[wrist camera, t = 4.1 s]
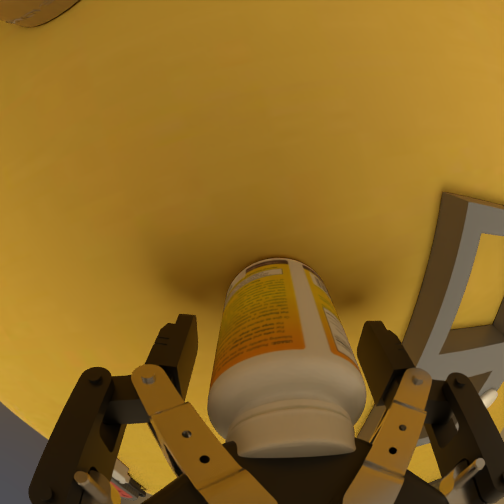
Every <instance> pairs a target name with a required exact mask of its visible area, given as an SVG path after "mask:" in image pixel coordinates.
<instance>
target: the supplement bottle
mask: <svg viewBox="0 0 504 504" xmlns="http://www.w3.org/2000/svg"><path fill="white" fill-rule="evenodd" d="M365 403H366V388H365V384H364V381H363V378H362V375H361V372H360V370H359V367H358V364H357V362H356V359H355V357H354V354H353V352H352V349H351V347H350V344H349V342H348V339H347V337H346V334H345V331H344V329H343V327H342V324H341V321H340V319H339V317H338V315H337V312H336V310H335V307H334V305H333V303H332V301H331V298H330V296H329V294H328V291H327V289H326V287H325V285H324V283H323V281H322V280H321V278H320V277H319V275H318V274H317V273H316V272H315V271H314V270H312V269H311V268H310V267H308V266H307V265H305V264H303V263H301V262H298V261H296V260H292V259H287V258H271V259H265V260H262V261H259V262H256V263H254V264H252V265H250V266H248V267H247V268H245V269H244V270H243V271H241V272H240V273H239V274H238V275H237V276H236V278H235V279H234V280H233V282H232V283H231V285H230V287H229V290H228V292H227V296H226V300H225V305H224V310H223V316H222V322H221V327H220V332H219V338H218V343H217V349H216V355H215V361H214V366H213V372H212V378H211V384H210V390H209V396H208V405H207V409H208V415H209V418H210V421H211V423H212V425H213V427H214V428H215V430H216V431H217V432H218V433H219V434H220V435H221V436H222V437H223V438H224V439H226V443H227V442H229V441H234V442H235V443H236V444H237V453H238V455H239V456H241V457H249V458H292V457H314V456H327V455H338V454H346V453H351V452H354V451H355V450H356V446H355V440H354V438H355V436H354V427H353V426H354V425H355V423H356V422H357V421H358V419H359V418H360V416H361V414H362V412H363V410H364V407H365Z"/></svg>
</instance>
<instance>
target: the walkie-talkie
mask: <svg viewBox="0 0 504 504" xmlns="http://www.w3.org/2000/svg"><path fill="white" fill-rule="evenodd" d="M128 470H129V468H127V467H126V466H125V465H124V464H123V463H122V462H121V461H120V460H118V459H116V463H115V467H114V470H113V474H112V478H111V481H110V483H111V484H112V485H113V486H114V487H115V488H116V489H117V491H118V492H119V494H120V497H121V498H123V499H128V500H133V501H134V500H137V498H138V496H141V497H145V496H146V492H145V491H143V490H142V489H141V486H140V485H139V484H138V483H136V482H135V481H134V480H132V479H131V478H130V476H129V475H127V474H128Z"/></svg>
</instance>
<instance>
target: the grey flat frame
mask: <svg viewBox="0 0 504 504" xmlns="http://www.w3.org/2000/svg"><path fill="white" fill-rule="evenodd" d="M481 233H485V234H492V235H499V236H504V206H503V205H499V204H496V203H492V202H488V201H483V200H479V199H475V198H470V197H466V196H461V195H457V194H452V193H447V192H443V194H442V200H441V206H440V212H439V217H438V222H437V227H436V232H435V237H434V241H433V246H432V250H431V254H430V258H429V262H428V266H427V270H426V273H425V277H424V281H423V284H422V287H421V291H420V294H419V297H418V300H417V303H416V307H415V310H414V312H413V315H412V318H411V321H410V324H409V327H408V329H407V332H406V335H405V337H404V340H403V343H402V345H403V347H404V348H405V350H406V352H407V353H408V355H409V357H410V358H411V360H412V362H413V364H414V365H415V367H416V368H421V369H423V370H425V371H426V372H428V373H429V374H430V376H431V378H432V379H434V380H444V381H446V379H447V377H448V375H449V374H451V373H454V372H458V373H462V374H464V375H466V376H467V377H468V378H469V379H470V381H471V382H472V384H473V386H474V387H475V389H476V391H477V393H478V394H479V396H480V398H481V400H482V401H483V403H484V405H485V407H486V409H487V408H488V407H489V406H490V405H491V404H492V403H493V402H494V401H495V399H496V398H497V395H498V393H497V390H498V389H499V387H500V386H501V384H502V383H503V381H504V298H503V301H502V303H501V306H500V309H499V311H498V313H497V316H496V318H495V320H494V323H493V324H492V325H485V326H478V327H471V328H463V329H454V330H450V328H451V326H452V323H453V321H454V319H455V316H456V313H457V311H458V308H459V306H460V303H461V300H462V297H463V294H464V292H465V289H466V286H467V283H468V279H469V276H470V273H471V270H472V266H473V263H474V259H475V256H476V252H477V248H478V244H479V240H480V236H481ZM385 410H386V407H385V405H384V406H376V405H374V407H373V409H372V411H371V413H370V415H369V417H368V418H367V420H366V422H365V424H364V426H363V427H362V429H361V431H360V433H359V434H358V436H357V438H359V439H362V440H365V441H367V442H369V441H370V439H371V437H372V435H373V433H374V431H375V429H376V427H377V426H378V424H379V422H380V420H381V418H382V415H383V413H384V412H385ZM452 419H453V422H454V424H455V426H456V428H457V431H458V428H459V425H458V422H457V420H456V417H455V415H453V416H452ZM427 443H430V440H429V437H428V434H427V432H426V429H425V426H424V424H423V427H422V430H421V433H420V436H419V439H418V442H417V444H416V447H417V446H420V445H424V444H427Z"/></svg>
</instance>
